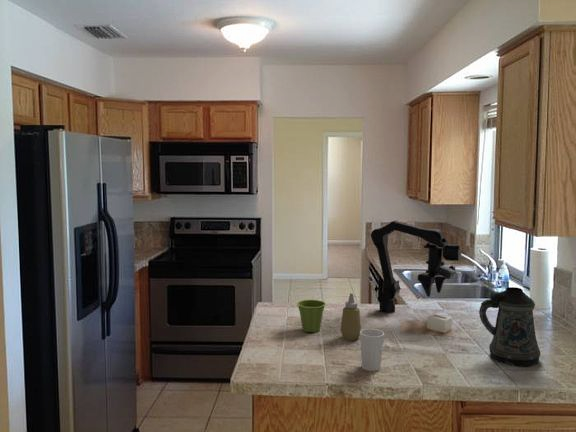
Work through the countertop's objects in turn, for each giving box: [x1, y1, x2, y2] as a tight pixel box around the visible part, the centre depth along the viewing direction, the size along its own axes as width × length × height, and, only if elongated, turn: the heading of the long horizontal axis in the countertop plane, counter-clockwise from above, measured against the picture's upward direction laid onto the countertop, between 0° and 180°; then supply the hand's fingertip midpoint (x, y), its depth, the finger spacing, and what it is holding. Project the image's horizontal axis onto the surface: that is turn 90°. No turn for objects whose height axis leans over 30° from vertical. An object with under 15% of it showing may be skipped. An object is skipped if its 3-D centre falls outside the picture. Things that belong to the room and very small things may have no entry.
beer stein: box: [478, 286, 541, 368], centre depth 175 cm, size 16×19×25 cm
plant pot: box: [296, 299, 327, 333], centre depth 205 cm, size 12×12×11 cm
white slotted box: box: [426, 313, 453, 333], centre depth 203 cm, size 6×8×5 cm
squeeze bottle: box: [340, 292, 362, 342], centre depth 195 cm, size 8×8×18 cm
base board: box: [400, 319, 454, 338], centre depth 204 cm, size 20×16×2 cm
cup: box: [359, 328, 385, 372], centre depth 168 cm, size 8×8×12 cm
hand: (433, 294), depth 216 cm, fingers open, 9 cm apart
